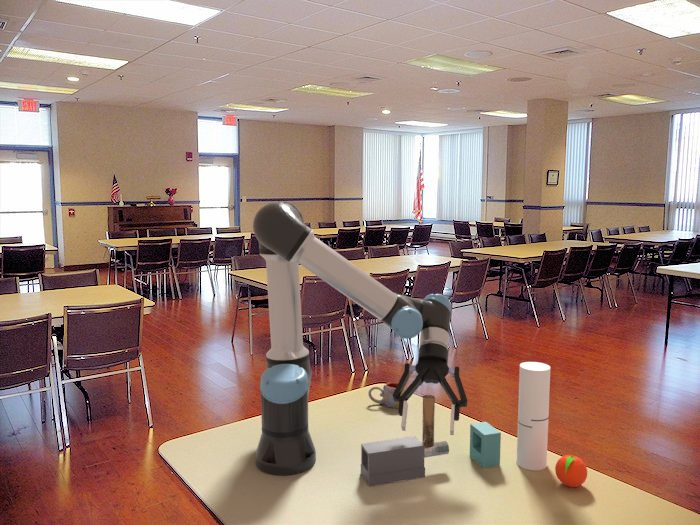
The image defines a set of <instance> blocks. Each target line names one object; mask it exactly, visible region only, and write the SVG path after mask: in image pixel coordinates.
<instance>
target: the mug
mask: <svg viewBox="0 0 700 525" xmlns="http://www.w3.org/2000/svg"><path fill="white" fill-rule="evenodd" d="M398 383H399V382H387V383H386V384H384V385H383V387H382V388H381V387H380V386H373V387H371V388H370V389H369V390H368V395H367V396H368V398H369V399H370V400H371V401H372V402H374V403H377V404H379V405H384V406H386V407H388V408H391V409H399V402H397V401H396V402H395V401H394V399H393V393H394V391H395V389H396V387H397V385H398ZM406 387H407V386H406V385H405V387H404V389H403V391H402V393H401V395H402V394H403V393H404V391H405V390H406V389H407V388H406ZM374 390H379V391H380V393H379V396H380V397H381V398H382V399H377V398H375V397H373V395H372V392H373V391H374ZM401 395H400V396H401Z"/></svg>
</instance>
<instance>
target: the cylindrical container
mask: <svg viewBox="0 0 700 525" xmlns="http://www.w3.org/2000/svg"><path fill="white" fill-rule="evenodd" d="M518 375H519V377H518V379H519V380H518V383H519V384H518V386H519V387H518V410H517V434H516V435H517V437H516V438H517V439H516V442H517V443H516V464H517V465H518V466H519V467H521V468H522V469H525V470H528V471H536V472H537V471H542V470H545V469H546V468H547V463H548V462H547V461H548V439H549V436H548V435H549V414H550V394H551V393H550V390H551V388H550V385H551V366H550V365H549V364H547V363H544V362H539V361H538V362H537V361H525V362H524V361H523V362H521V363H520V364H519V374H518Z"/></svg>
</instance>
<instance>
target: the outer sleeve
mask: <svg viewBox="0 0 700 525" xmlns="http://www.w3.org/2000/svg"><path fill="white" fill-rule="evenodd" d="M360 446H361V447H360V454H361V455H360V456H361V457H360V474H361V476H362V477H363V479H364V481H365V482H366V483H367V485H368V487H373V486H379V485H385V484H391V483H398V482H402V481H409V480H415V479H422V478H425V477H426V467H425V458H424V451H425V445H424V444H423V443H422V441H421V440H420V439H419V438H418V437H417V436H416V435H415V436H413V435H412V436H407V437H406V436H405V437H400V438H392V439H385V440H379V441H371V442H365V443H364V442H363V443H361V444H360Z"/></svg>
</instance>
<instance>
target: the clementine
mask: <svg viewBox="0 0 700 525" xmlns="http://www.w3.org/2000/svg"><path fill="white" fill-rule="evenodd" d="M554 472H555V475H556V477H557V479H558V480H559V481H560V483H562V484H563V485H564V486H567V487H569V488H576V487H580V486H582V484H584V483H585V482H586V480H587V478H588V468H587V466H586V463H585V462H584V461H583V460H582V459H581V458H580V457H578V456H576V455H574V454H573V455H572V454H566V455H564V456H563V455H562V456H561V457H560V458H559V459H557V461H556V463H555V467H554Z"/></svg>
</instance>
